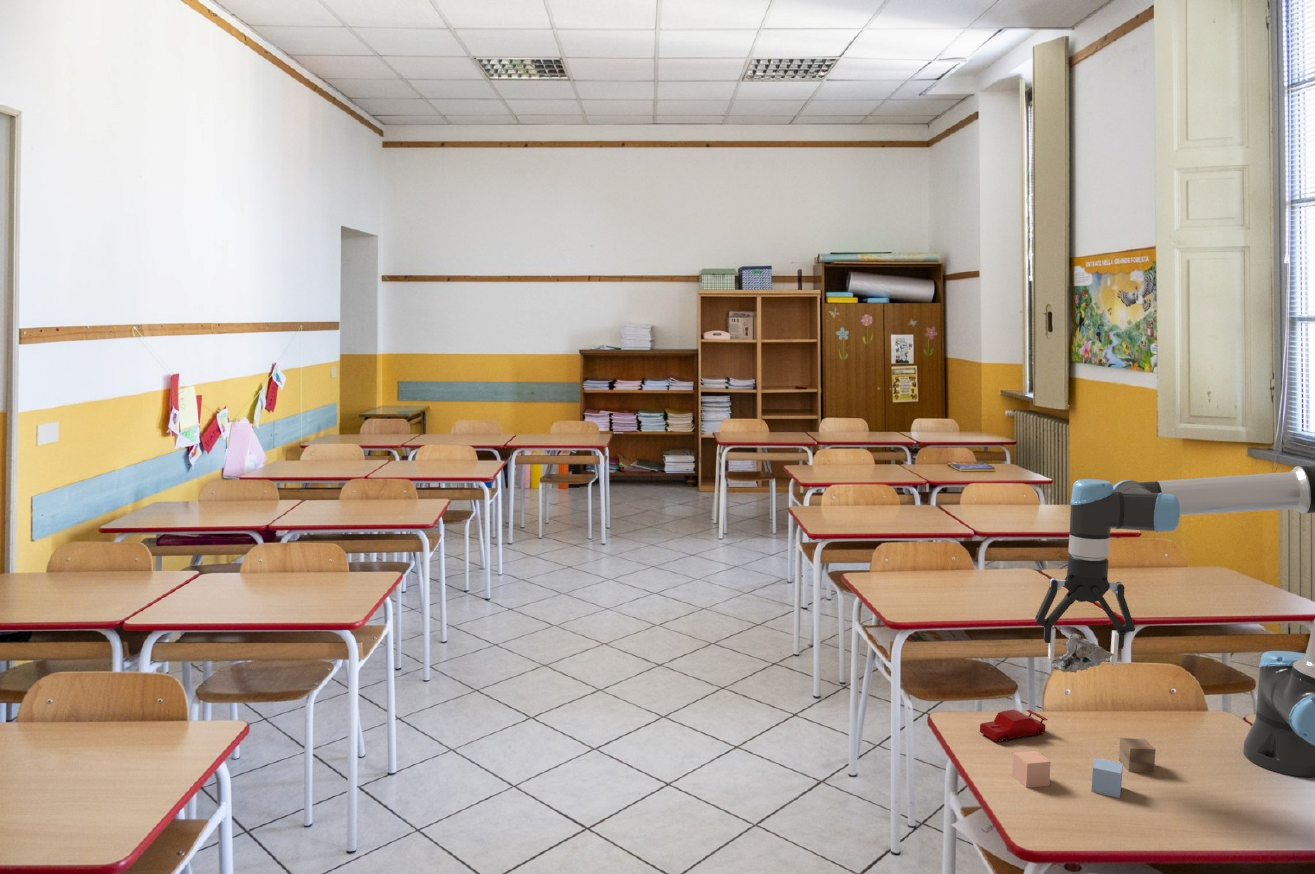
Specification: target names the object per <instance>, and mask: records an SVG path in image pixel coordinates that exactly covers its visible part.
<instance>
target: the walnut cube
mask: <svg viewBox="0 0 1315 874" xmlns="http://www.w3.org/2000/svg"><path fill="white" fill-rule="evenodd" d="M1118 753H1119V754H1118V762H1119V763H1123V768H1125V769H1126V770H1127V771H1128V773H1130V772H1131V773H1155V765H1156V764H1155V762H1156V761H1155V760H1156V748H1155V747H1154V746H1153V745H1152V744H1151V743H1150V742H1149V741H1148V740H1147V739H1146V738H1129V737H1128V738H1126V737H1120V739H1119V752H1118Z"/></svg>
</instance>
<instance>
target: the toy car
mask: <svg viewBox="0 0 1315 874" xmlns="http://www.w3.org/2000/svg"><path fill="white" fill-rule="evenodd" d="M1026 712H1028V715H1027V714H1025V713H1024V712H1022V711H1019V710H1017V709H1008V710H1002V711H999V712H997V715H996V716H995V717H994V720H992V721H987V722H981V723H980V724H979V733H981V734H983V736H986V737H988V738H989V739H991V740H992V741H995V742H998V743H1000V744H1001V743H1004V742H1005V743H1006V742H1007V740H1010V739H1015V738H1017V739H1018V738H1022V737H1028V736H1034V737H1039V736H1042V735H1043V734H1045V733H1046V724H1045V722H1044V721H1048V720H1049V718H1046V717H1044V716H1042V715H1040V714H1038V713H1036V712H1035V711H1034V710H1031V709H1027V710H1026ZM1032 715H1033V716H1035V717H1037V718H1038V719H1040V720H1038V719H1036V718H1034V717H1032ZM1038 734H1039V735H1038Z"/></svg>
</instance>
